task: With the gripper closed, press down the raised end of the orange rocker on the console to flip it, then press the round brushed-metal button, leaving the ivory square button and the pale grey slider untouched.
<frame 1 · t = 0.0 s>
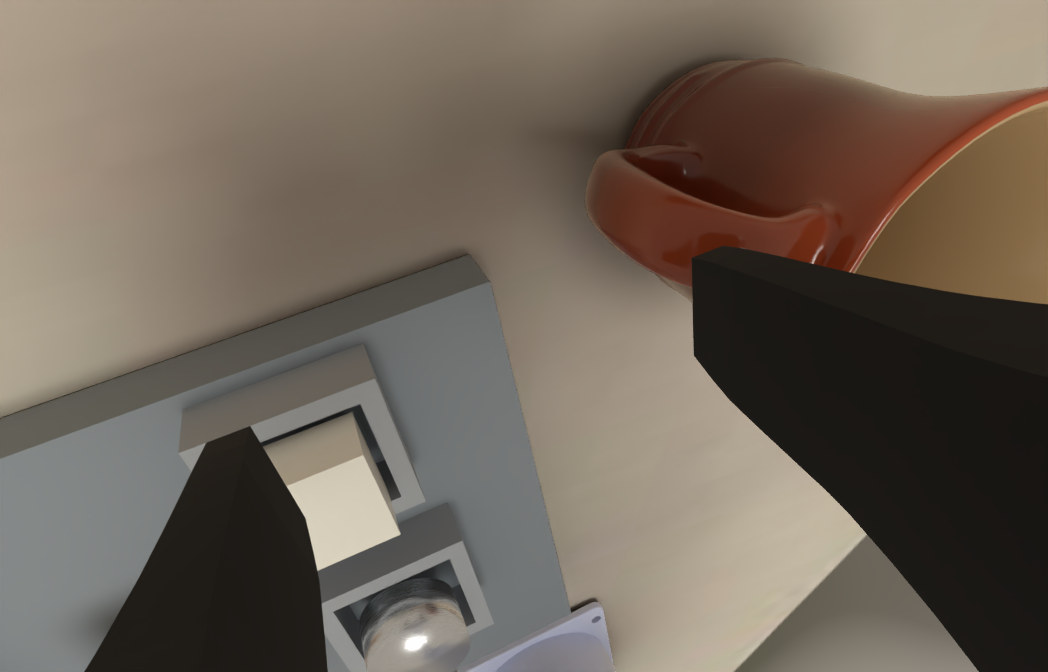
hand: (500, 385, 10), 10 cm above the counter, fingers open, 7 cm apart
button round: (414, 635, 21), point 4 cm above the counter, slide at 0.0 cm
button square: (319, 497, 17), point 4 cm above the counter, slide at 0.0 cm
mug: (656, 156, 21), on the counter
console: (243, 568, 23), on the counter
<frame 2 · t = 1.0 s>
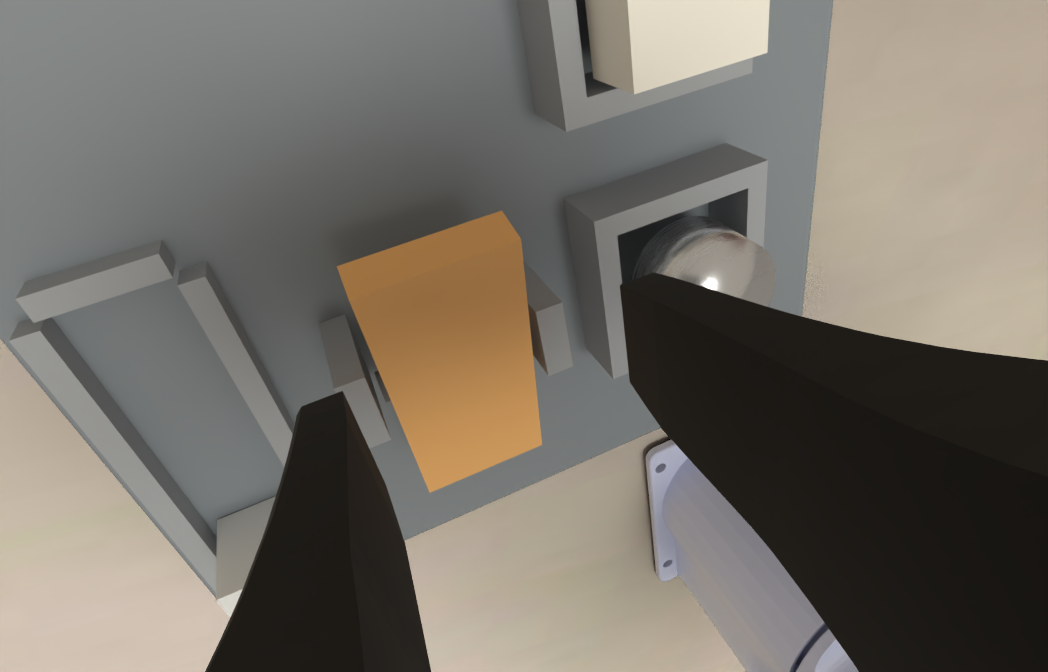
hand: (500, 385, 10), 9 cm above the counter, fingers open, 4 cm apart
button round: (701, 286, 17), point 4 cm above the counter, slide at 0.0 cm
slider knob: (273, 564, 18), point 3 cm above the counter, slide at 0.0 cm
console: (468, 235, 19), on the counter
rocker: (457, 367, 16), point 4 cm above the counter, hinge at -15.0°
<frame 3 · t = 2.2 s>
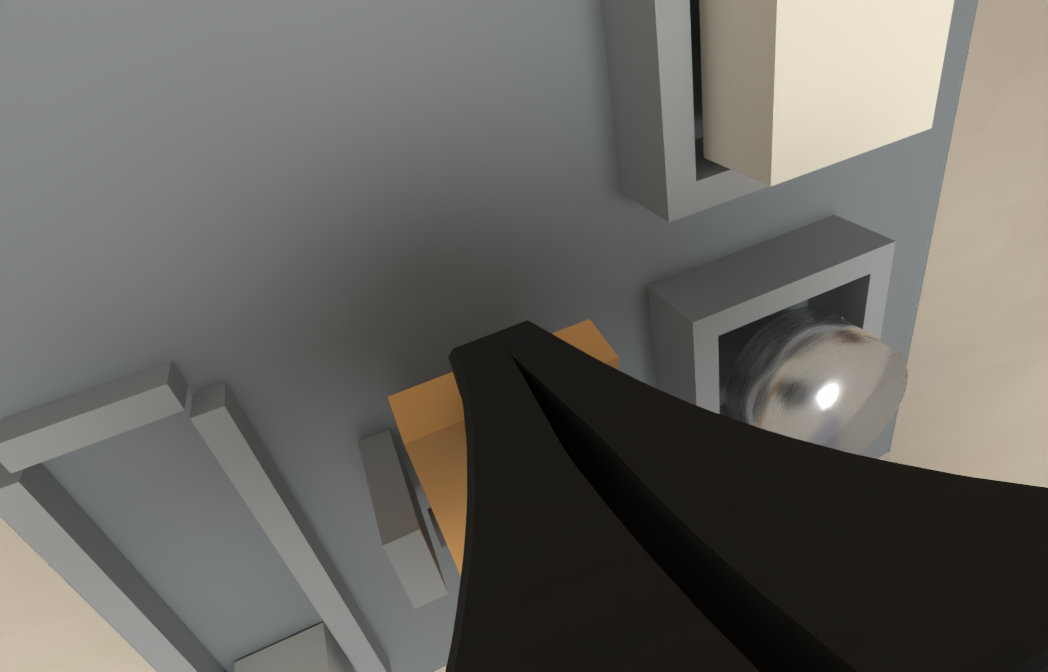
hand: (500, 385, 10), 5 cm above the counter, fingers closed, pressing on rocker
button round: (813, 390, 14), point 5 cm above the counter, slide at 0.0 cm
button square: (820, 45, 10), point 5 cm above the counter, slide at 0.0 cm
console: (528, 321, 16), on the counter
rocker: (527, 501, 13), point 4 cm above the counter, hinge at -10.4°, touching gripper
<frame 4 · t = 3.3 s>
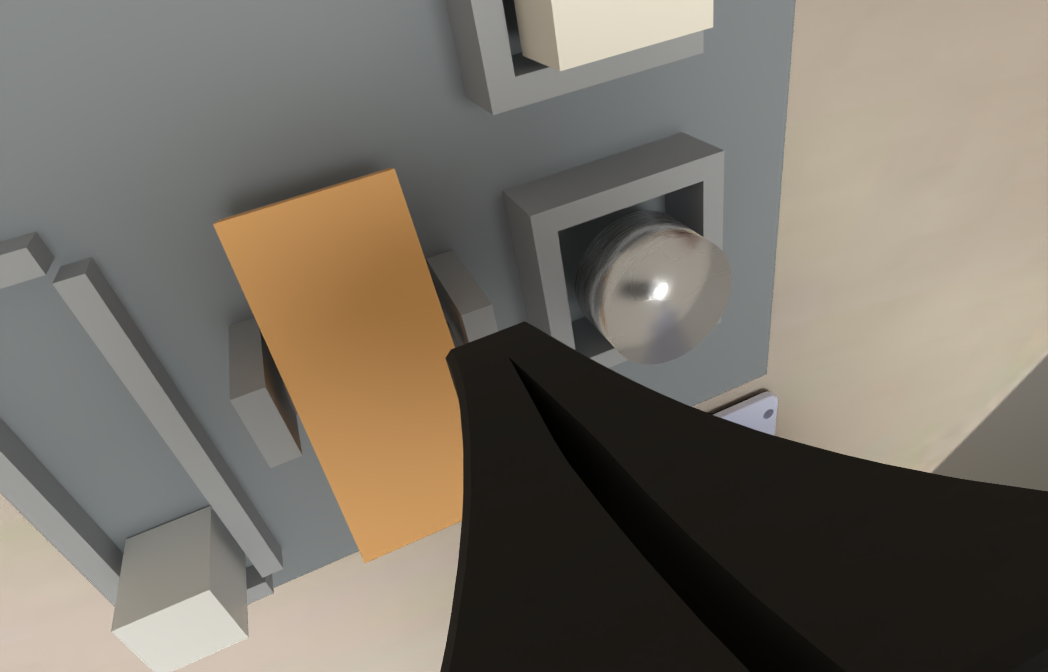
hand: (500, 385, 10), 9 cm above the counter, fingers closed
button round: (651, 287, 16), point 4 cm above the counter, slide at 0.0 cm
slider knob: (186, 587, 16), point 3 cm above the counter, slide at 0.0 cm
console: (404, 230, 17), on the counter
rocker: (375, 370, 14), point 4 cm above the counter, hinge at 16.5°
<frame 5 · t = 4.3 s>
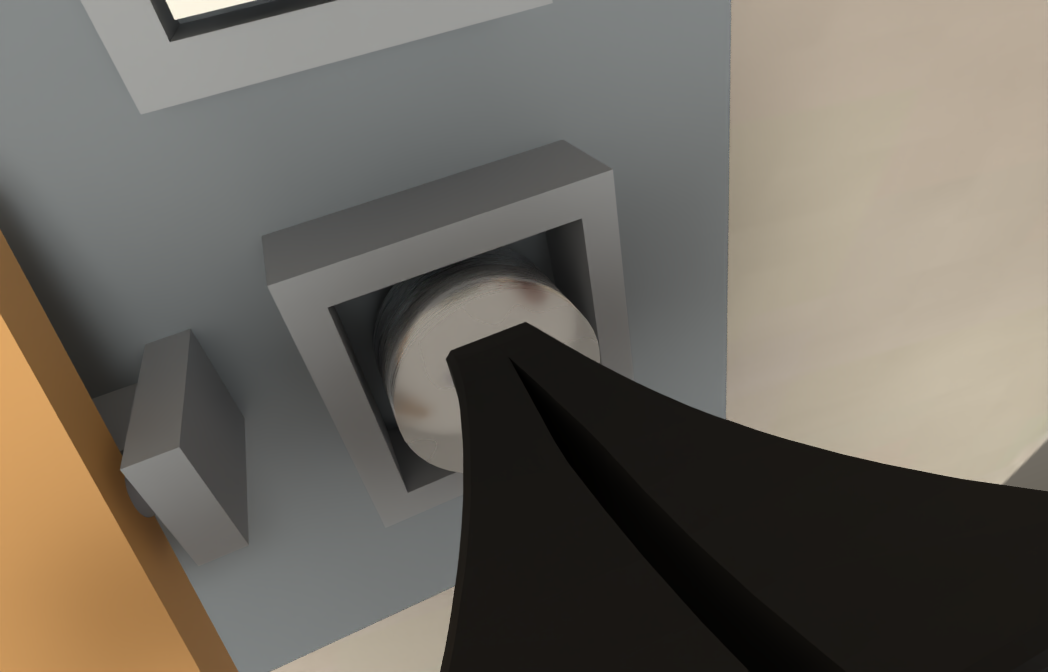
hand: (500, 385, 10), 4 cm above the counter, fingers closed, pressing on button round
button round: (484, 358, 11), point 4 cm above the counter, slide at 0.9 cm, touching gripper
console: (150, 290, 12), on the counter
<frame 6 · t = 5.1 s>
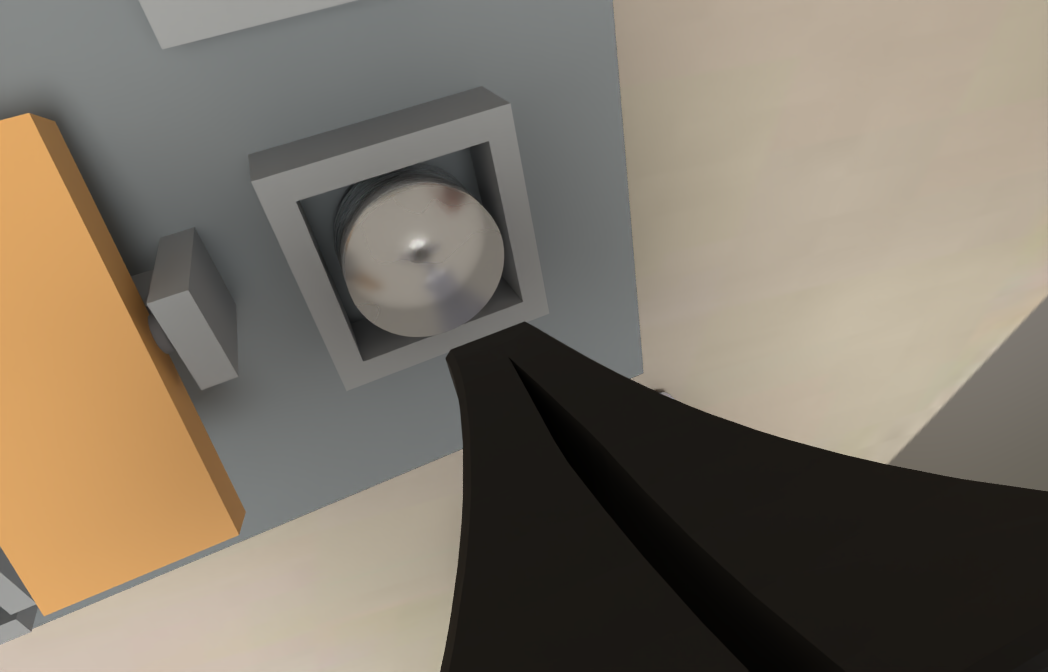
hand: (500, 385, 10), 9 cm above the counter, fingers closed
button round: (418, 250, 14), point 3 cm above the counter, slide at 1.1 cm
console: (162, 206, 15), on the counter
rocker: (54, 371, 11), point 4 cm above the counter, hinge at 21.1°
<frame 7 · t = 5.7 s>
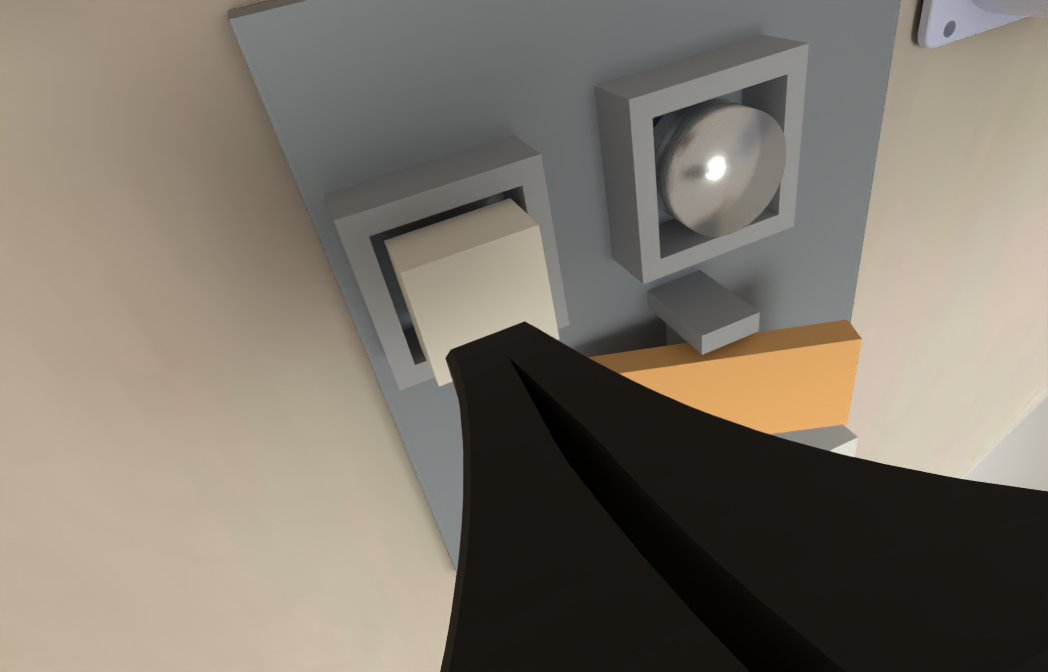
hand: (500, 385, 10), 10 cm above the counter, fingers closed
button round: (712, 166, 17), point 3 cm above the counter, slide at 1.1 cm
slider knob: (806, 444, 26), point 3 cm above the counter, slide at 0.0 cm
button square: (474, 291, 15), point 4 cm above the counter, slide at 0.0 cm
console: (619, 284, 23), on the counter
rocker: (716, 387, 20), point 4 cm above the counter, hinge at 21.3°
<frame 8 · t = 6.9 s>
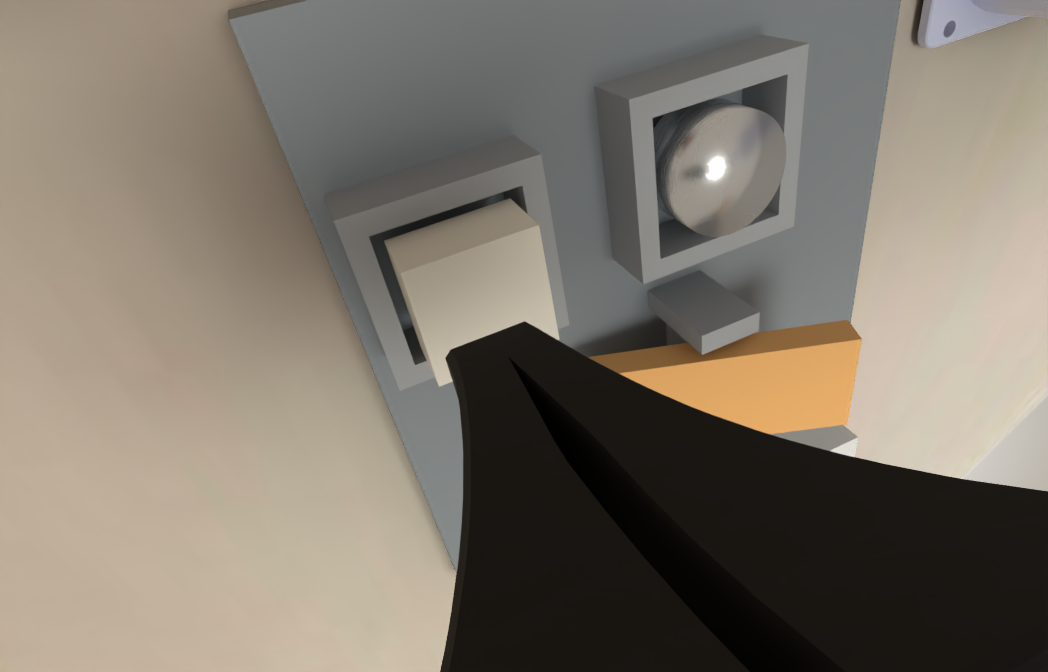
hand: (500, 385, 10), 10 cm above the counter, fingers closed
button round: (712, 166, 17), point 3 cm above the counter, slide at 1.1 cm
slider knob: (806, 445, 26), point 3 cm above the counter, slide at 0.0 cm
button square: (474, 291, 15), point 4 cm above the counter, slide at 0.0 cm
console: (619, 284, 23), on the counter
rocker: (716, 387, 20), point 4 cm above the counter, hinge at 21.4°
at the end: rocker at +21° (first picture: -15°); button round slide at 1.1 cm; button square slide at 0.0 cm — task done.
